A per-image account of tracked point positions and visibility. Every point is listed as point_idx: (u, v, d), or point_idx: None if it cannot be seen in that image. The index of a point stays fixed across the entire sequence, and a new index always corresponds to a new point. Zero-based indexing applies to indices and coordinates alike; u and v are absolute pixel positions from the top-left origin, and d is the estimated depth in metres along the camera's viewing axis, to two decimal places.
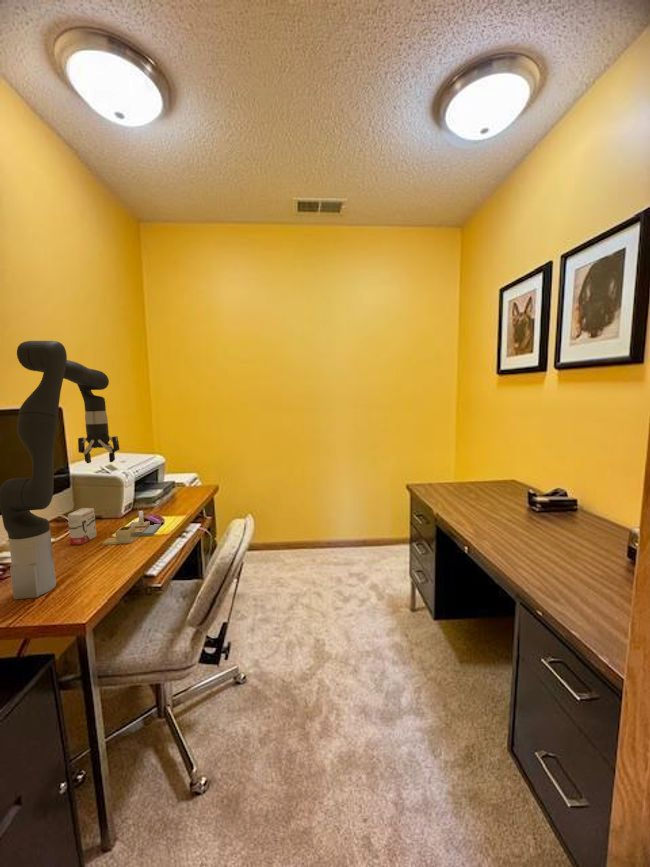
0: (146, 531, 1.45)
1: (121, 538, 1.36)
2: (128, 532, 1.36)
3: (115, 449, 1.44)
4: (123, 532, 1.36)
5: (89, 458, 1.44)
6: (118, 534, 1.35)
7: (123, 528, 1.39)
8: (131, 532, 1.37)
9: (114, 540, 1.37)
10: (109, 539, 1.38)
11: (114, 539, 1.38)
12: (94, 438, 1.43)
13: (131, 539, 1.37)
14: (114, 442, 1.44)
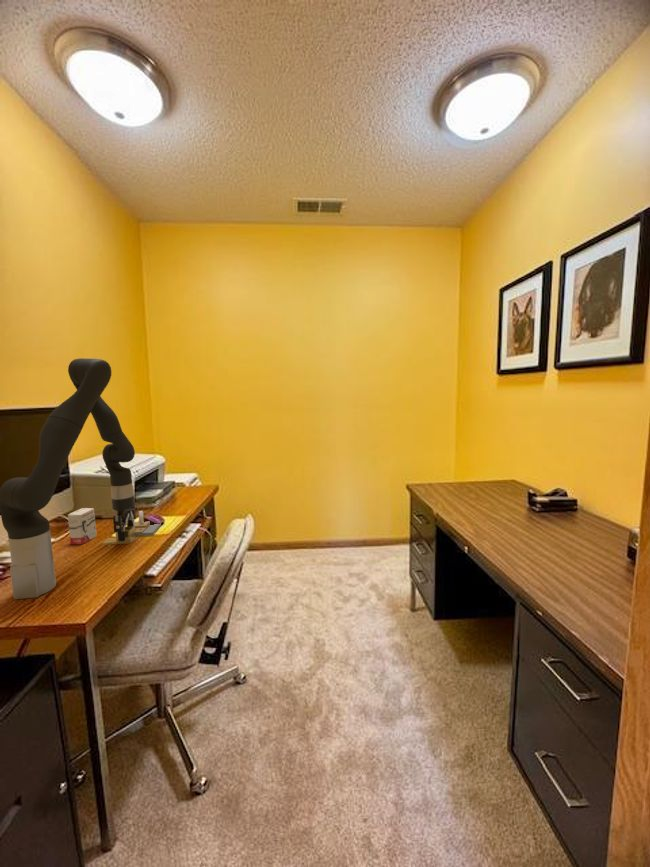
0: (146, 531, 1.45)
1: None
2: (128, 532, 1.36)
3: (135, 517, 1.44)
4: None
5: None
6: None
7: None
8: (131, 532, 1.37)
9: (114, 540, 1.37)
10: (109, 539, 1.38)
11: (114, 539, 1.38)
12: (126, 512, 1.37)
13: (131, 539, 1.37)
14: (134, 510, 1.44)
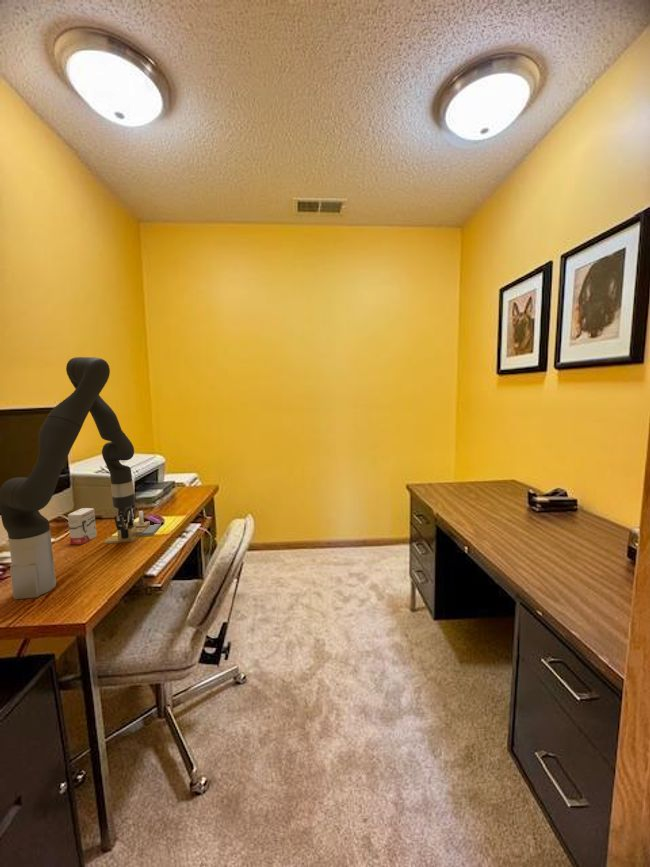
0: (146, 531, 1.45)
1: None
2: (129, 531, 1.37)
3: (135, 517, 1.44)
4: None
5: None
6: (119, 533, 1.37)
7: None
8: (132, 531, 1.39)
9: (116, 538, 1.39)
10: (111, 537, 1.40)
11: (116, 537, 1.40)
12: (127, 509, 1.37)
13: (132, 537, 1.39)
14: None
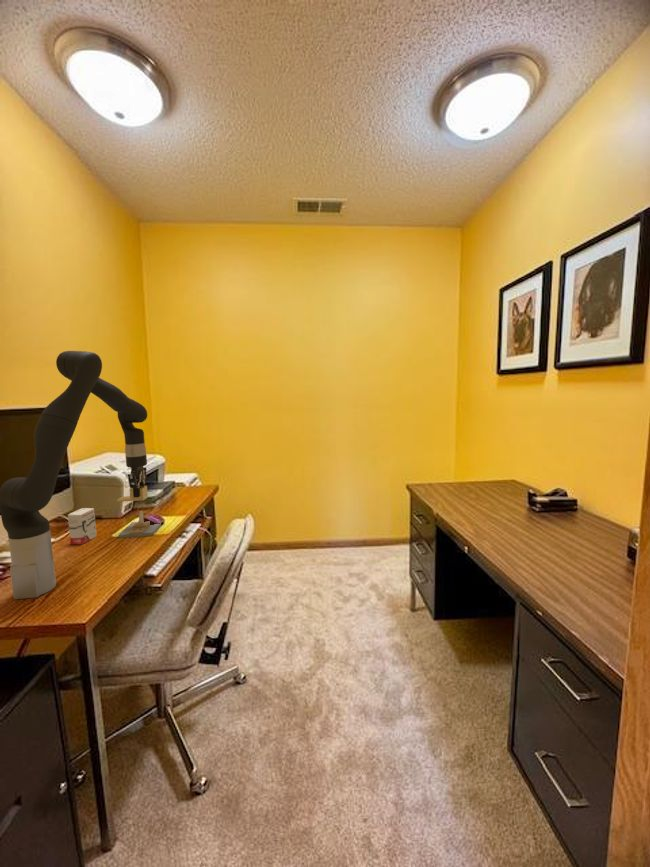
0: (146, 531, 1.45)
1: None
2: (141, 490, 1.45)
3: None
4: None
5: None
6: (131, 492, 1.45)
7: None
8: (144, 490, 1.47)
9: (128, 498, 1.47)
10: (123, 497, 1.48)
11: (128, 497, 1.48)
12: (139, 469, 1.46)
13: (144, 497, 1.47)
14: None
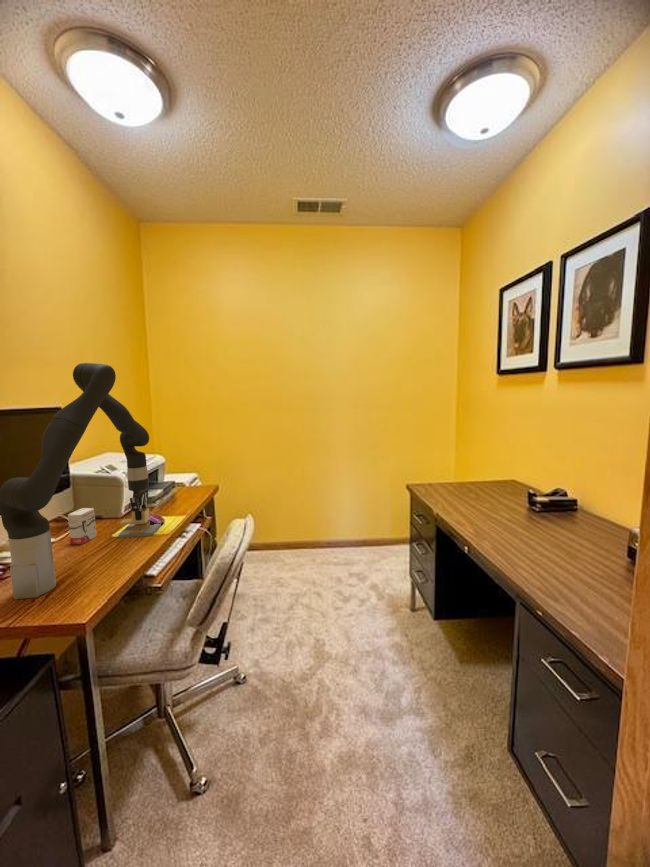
0: (146, 531, 1.45)
1: None
2: (143, 513, 1.46)
3: None
4: None
5: None
6: (133, 515, 1.46)
7: None
8: (146, 513, 1.48)
9: (130, 520, 1.48)
10: (125, 520, 1.49)
11: (130, 520, 1.49)
12: (141, 492, 1.47)
13: (145, 520, 1.48)
14: (147, 494, 1.54)
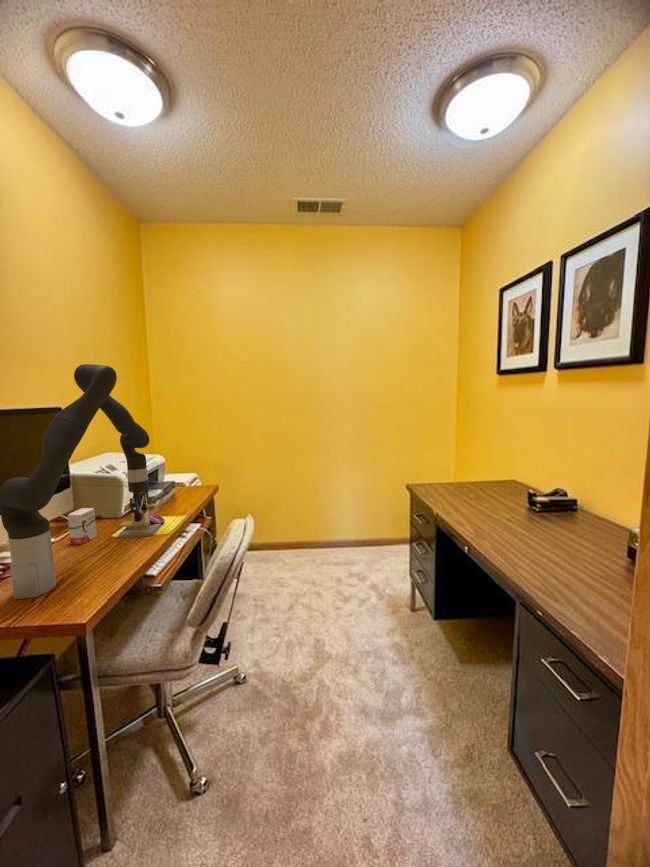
0: (146, 531, 1.45)
1: None
2: (143, 515, 1.46)
3: (148, 502, 1.54)
4: None
5: None
6: (133, 517, 1.46)
7: None
8: (145, 515, 1.48)
9: (130, 523, 1.48)
10: (125, 522, 1.49)
11: (130, 522, 1.49)
12: (141, 494, 1.47)
13: (145, 522, 1.48)
14: None
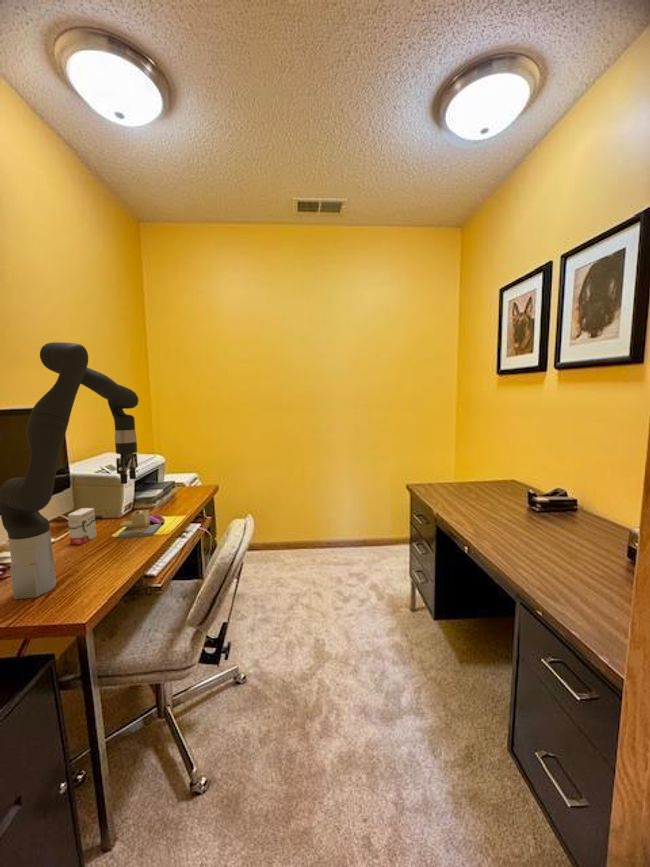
0: (146, 531, 1.45)
1: (136, 521, 1.46)
2: (143, 515, 1.46)
3: (137, 465, 1.50)
4: (138, 515, 1.46)
5: None
6: (133, 517, 1.46)
7: (138, 512, 1.50)
8: (145, 515, 1.48)
9: (130, 523, 1.48)
10: (125, 522, 1.49)
11: (130, 522, 1.49)
12: (129, 457, 1.43)
13: (145, 522, 1.48)
14: (136, 458, 1.50)
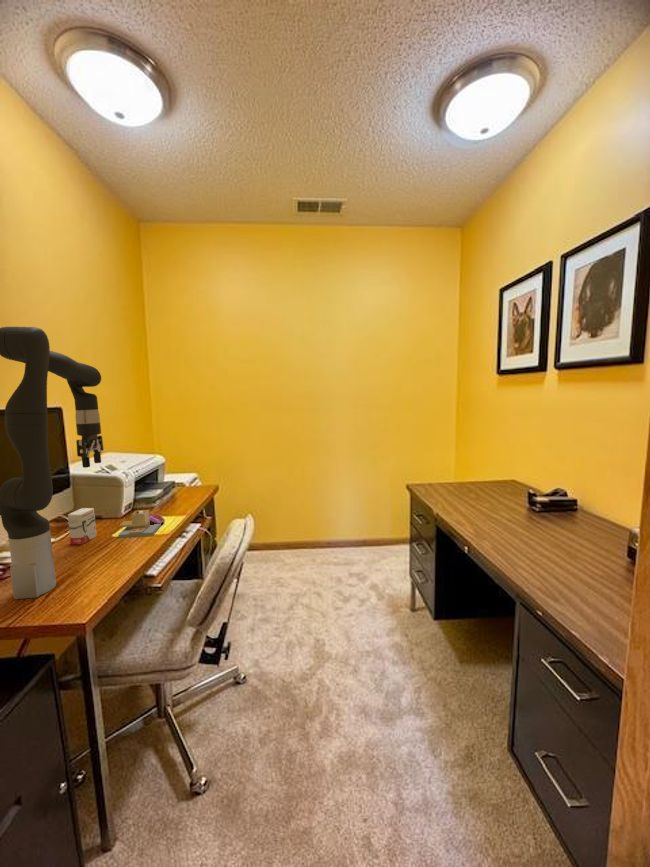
0: (146, 531, 1.45)
1: (136, 521, 1.46)
2: (143, 515, 1.46)
3: None
4: (138, 515, 1.46)
5: None
6: (133, 517, 1.46)
7: (138, 512, 1.50)
8: (145, 515, 1.48)
9: (130, 523, 1.48)
10: (125, 522, 1.49)
11: (130, 522, 1.49)
12: (91, 438, 1.33)
13: (145, 522, 1.48)
14: (101, 441, 1.40)
